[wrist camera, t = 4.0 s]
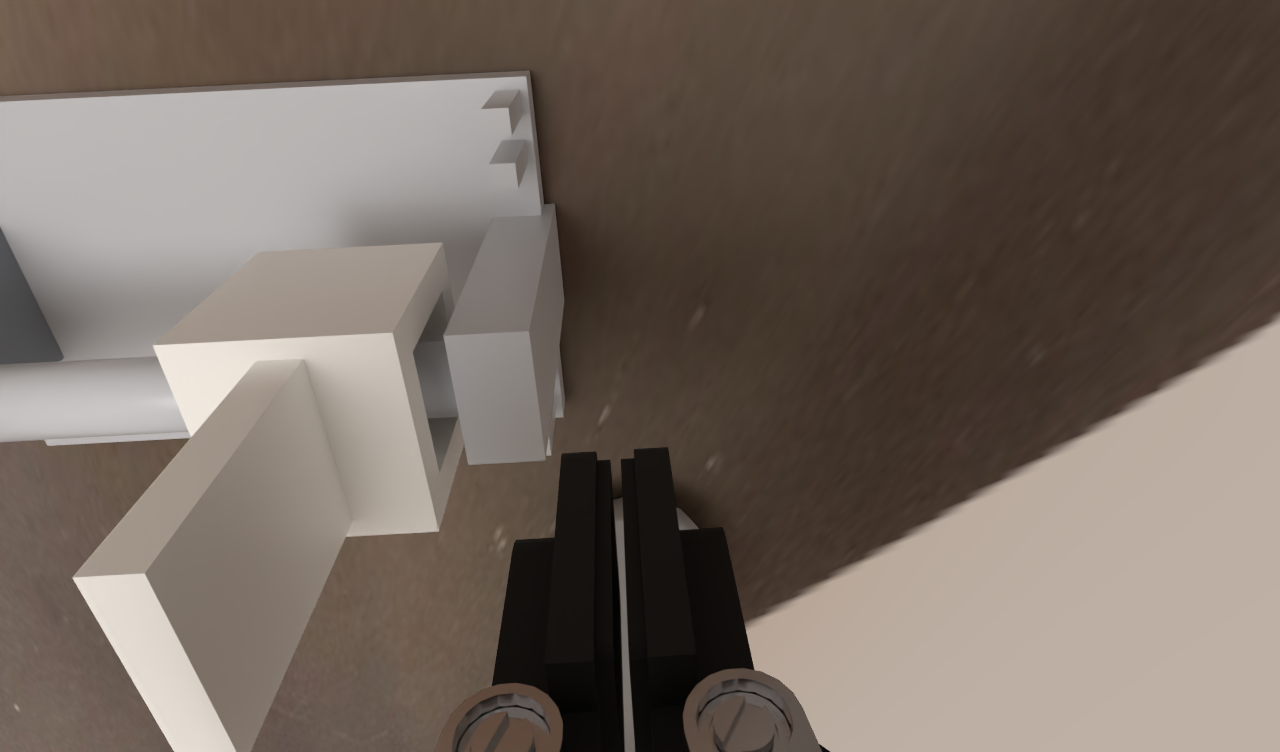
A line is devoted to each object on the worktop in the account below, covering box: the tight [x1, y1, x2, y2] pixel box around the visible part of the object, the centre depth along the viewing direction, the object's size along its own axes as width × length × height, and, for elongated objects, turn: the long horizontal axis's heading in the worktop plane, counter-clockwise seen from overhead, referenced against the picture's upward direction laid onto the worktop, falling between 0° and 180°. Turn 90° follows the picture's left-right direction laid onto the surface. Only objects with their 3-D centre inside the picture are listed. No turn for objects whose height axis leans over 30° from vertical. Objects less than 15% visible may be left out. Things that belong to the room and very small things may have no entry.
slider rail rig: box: [0, 70, 565, 465], centre depth 17 cm, size 16×10×9 cm, turn 92°
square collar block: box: [72, 242, 464, 752], centre depth 13 cm, size 4×4×9 cm
